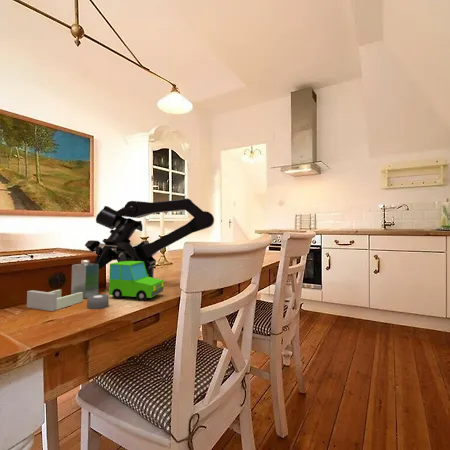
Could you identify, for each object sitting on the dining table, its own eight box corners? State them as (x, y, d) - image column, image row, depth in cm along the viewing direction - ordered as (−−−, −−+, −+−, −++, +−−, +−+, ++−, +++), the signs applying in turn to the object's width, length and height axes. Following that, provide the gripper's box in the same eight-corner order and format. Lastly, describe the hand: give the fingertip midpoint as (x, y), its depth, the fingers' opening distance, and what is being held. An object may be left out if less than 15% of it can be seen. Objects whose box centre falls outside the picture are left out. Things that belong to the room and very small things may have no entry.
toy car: (150, 303, 75) (151, 266, 75) (106, 299, 77) (107, 264, 77) (165, 294, 85) (166, 262, 85) (126, 291, 87) (127, 260, 87)
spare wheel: (97, 302, 74) (97, 293, 74) (112, 304, 72) (112, 295, 72) (82, 308, 69) (82, 297, 69) (98, 310, 67) (98, 299, 67)
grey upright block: (84, 292, 84) (85, 258, 84) (98, 294, 82) (99, 259, 82) (71, 296, 79) (72, 260, 79) (85, 298, 77) (86, 261, 77)
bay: (59, 298, 77) (59, 284, 77) (82, 301, 74) (82, 286, 74) (26, 307, 68) (27, 291, 68) (52, 311, 66) (52, 294, 66)
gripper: (154, 249, 96) (131, 288, 86) (116, 247, 104) (91, 281, 95) (138, 227, 89) (110, 267, 79) (98, 226, 97) (69, 262, 87)
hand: (94, 270), depth 85 cm, fingers closed
